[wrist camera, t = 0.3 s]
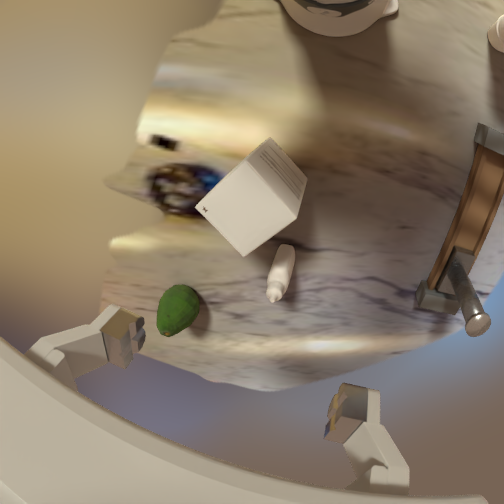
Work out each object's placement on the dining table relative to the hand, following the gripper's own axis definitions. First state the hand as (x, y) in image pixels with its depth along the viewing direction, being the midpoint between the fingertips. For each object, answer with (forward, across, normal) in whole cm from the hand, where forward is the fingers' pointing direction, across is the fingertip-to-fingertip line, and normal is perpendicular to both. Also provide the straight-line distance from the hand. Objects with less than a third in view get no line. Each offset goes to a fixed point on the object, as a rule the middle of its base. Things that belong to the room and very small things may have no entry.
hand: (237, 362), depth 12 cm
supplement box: (+40, +7, +4) cm, 41 cm away
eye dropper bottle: (+41, +2, +18) cm, 45 cm away
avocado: (+41, +19, +33) cm, 56 cm away
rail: (+41, -27, +2) cm, 49 cm away
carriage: (+39, -27, +10) cm, 49 cm away
